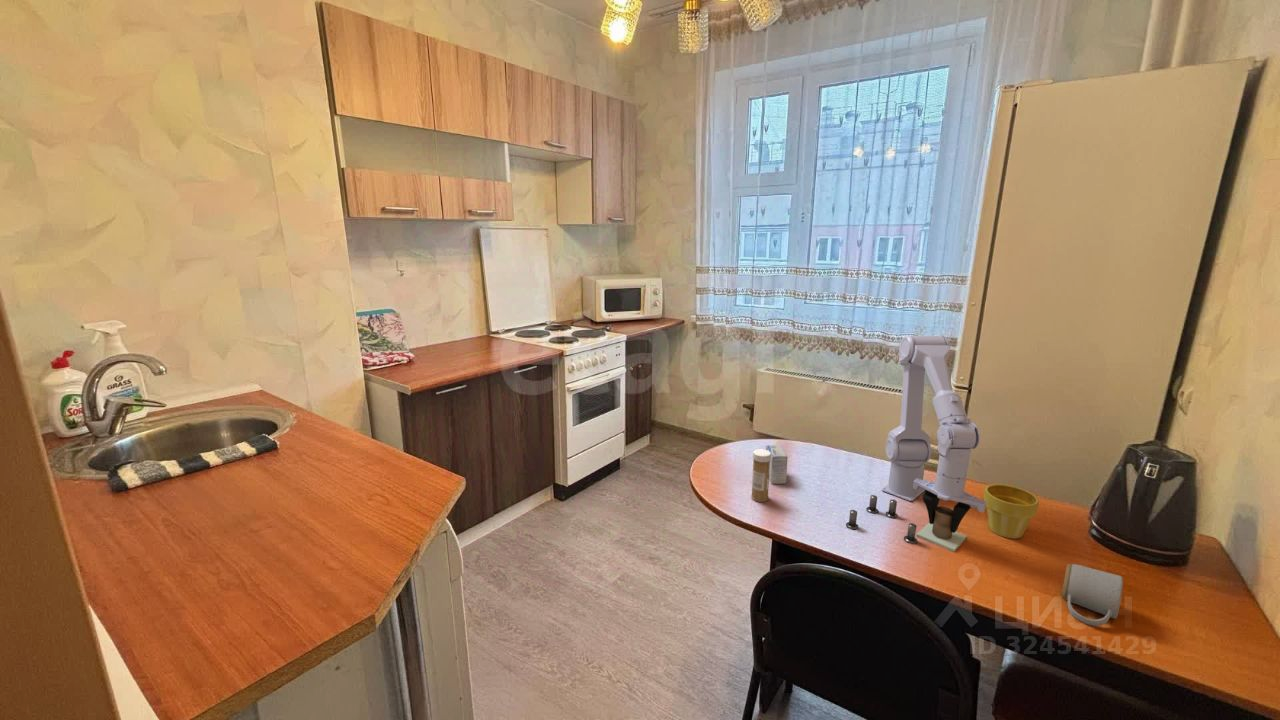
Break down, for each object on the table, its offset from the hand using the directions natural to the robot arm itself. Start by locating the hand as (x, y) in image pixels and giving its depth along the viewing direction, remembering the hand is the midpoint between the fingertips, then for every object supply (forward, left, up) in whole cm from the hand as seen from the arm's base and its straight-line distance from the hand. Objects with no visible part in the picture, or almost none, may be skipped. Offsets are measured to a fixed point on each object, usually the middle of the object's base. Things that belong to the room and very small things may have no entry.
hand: (943, 526), depth 118 cm
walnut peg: (0, 0, -2) cm, 2 cm away
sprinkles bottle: (+17, -39, -3) cm, 43 cm away
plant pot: (-14, +9, -3) cm, 17 cm away
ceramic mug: (+5, +27, -3) cm, 28 cm away
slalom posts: (+5, -10, -3) cm, 12 cm away
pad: (0, 0, -3) cm, 3 cm away
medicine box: (+4, -43, -3) cm, 43 cm away
